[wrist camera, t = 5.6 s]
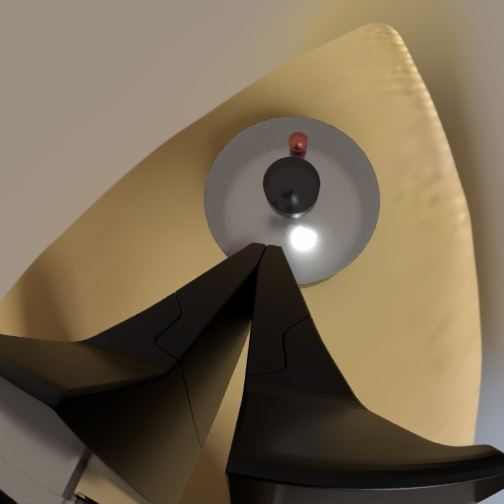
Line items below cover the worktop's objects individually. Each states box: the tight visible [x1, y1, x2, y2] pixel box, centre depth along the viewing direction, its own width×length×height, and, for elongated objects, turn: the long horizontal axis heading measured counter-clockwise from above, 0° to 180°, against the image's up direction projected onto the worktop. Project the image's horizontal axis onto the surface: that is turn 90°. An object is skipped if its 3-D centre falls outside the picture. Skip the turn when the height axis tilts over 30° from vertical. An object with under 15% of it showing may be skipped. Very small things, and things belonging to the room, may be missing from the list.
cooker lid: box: [204, 116, 380, 284], centre depth 16 cm, size 10×10×3 cm
